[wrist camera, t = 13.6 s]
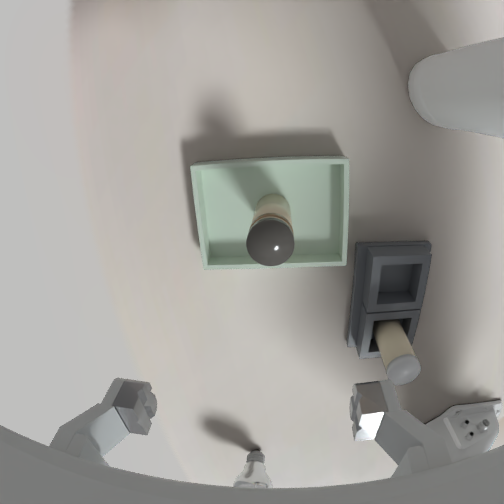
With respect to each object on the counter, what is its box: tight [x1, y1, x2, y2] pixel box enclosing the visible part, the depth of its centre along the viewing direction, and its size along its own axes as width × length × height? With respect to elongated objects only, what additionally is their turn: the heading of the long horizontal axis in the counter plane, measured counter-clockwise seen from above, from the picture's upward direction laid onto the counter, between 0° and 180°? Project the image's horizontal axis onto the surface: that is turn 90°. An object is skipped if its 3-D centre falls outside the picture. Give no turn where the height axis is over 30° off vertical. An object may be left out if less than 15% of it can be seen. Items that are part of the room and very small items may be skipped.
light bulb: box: [233, 450, 273, 488], centre depth 47 cm, size 7×7×12 cm
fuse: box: [372, 319, 421, 385], centre depth 33 cm, size 4×4×9 cm
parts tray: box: [190, 156, 349, 270], centre depth 32 cm, size 15×11×2 cm
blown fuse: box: [246, 194, 295, 266], centre depth 29 cm, size 4×4×9 cm
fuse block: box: [347, 241, 432, 359], centre depth 35 cm, size 9×14×4 cm, turn 4°
